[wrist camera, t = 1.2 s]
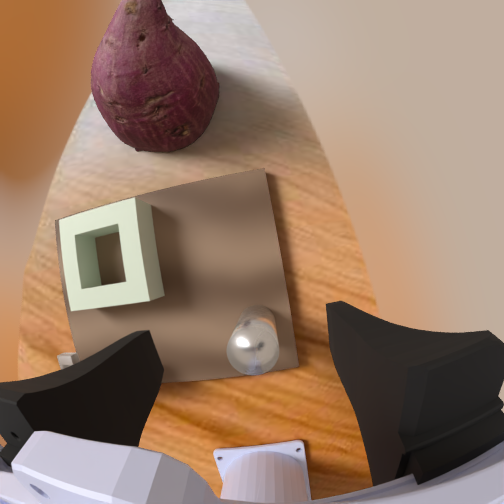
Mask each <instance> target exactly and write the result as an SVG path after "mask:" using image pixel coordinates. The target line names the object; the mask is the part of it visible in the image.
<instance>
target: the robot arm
mask: <svg viewBox="0 0 504 504" xmlns="http://www.w3.org/2000/svg"><path fill="white" fill-rule="evenodd" d="M326 311H327V322H328V333H329V345H330V351H331V354H332V358H333V361H334V365H335V368H336V370H337V372H338V375H339V377H340V379H341V381H342V384H343V386H344V388H345V390H346V393H347V395H348V397H349V399H350V402H351V404H352V406H353V409H354V411H355V414H356V417H357V420H358V424H359V427H360V431H361V435H362V438H363V442H364V446H365V450H366V454H367V459H368V463H369V467H370V472H371V477H372V482H373V487H370V488H366V489H363V490H359V491H355V492H351V493H346V494H342V495H337V496H333V497H327V498H322V499H316V500H311V494H310V486H309V478H308V471H307V463H306V456H305V449H304V443H303V441H302V440H294V441H288V442H281V443H274V444H267V445H258V446H248V447H237V448H222V449H216V450H214V453H213V454H214V458H215V461H216V464H217V467H218V470H219V472H220V475H221V478H222V481H223V487H222V492H221V496H220V498H218V497H217V496H216V495H215V494H214V492H213V491H212V489H211V488H210V486H209V485H208V483H207V482H206V481H205V480H204V479H203V478H202V477H201V476H200V475H199V474H197V473H196V472H195V471H194V470H193V469H192V468H191V467H190V466H189V465H187V464H185V463H183V462H181V461H179V460H177V459H174V458H172V457H170V456H168V455H166V454H164V453H161V452H157V451H152V450H148V449H144V448H140V447H138V446H139V442H140V438H141V434H142V431H143V428H144V426H145V423H146V421H147V418H148V416H149V414H150V411H151V409H152V407H153V404H154V402H155V399H156V397H157V394H158V392H159V389H160V386H161V382H162V378H163V373H164V367H163V365H162V362H161V360H160V357H159V355H158V352H157V349H156V347H155V344H154V341H153V339H152V336H151V333H150V330H142V331H136V332H133V333H131V334H129V335H127V336H125V337H123V338H121V339H119V340H118V341H116V342H114V343H112V344H111V345H109V346H107V347H106V348H104V349H102V350H101V351H99V352H97V353H95V354H93V355H91V356H90V357H88V358H86V359H84V360H82V361H80V362H78V363H76V364H74V365H71V366H69V367H66V368H64V369H61V370H59V371H56V372H53V373H49V374H46V375H43V376H39V377H35V378H31V379H26V380H20V381H12V382H2V383H0V434H1V436H2V437H3V438H4V440H5V441H6V442H7V444H6V446H5V447H2V446H1V445H0V504H504V413H503V412H502V411H501V409H502V408H503V406H504V403H503V401H502V400H501V399H500V398H499V397H498V395H499V392H500V389H501V386H502V384H503V381H504V343H503V342H502V341H501V340H500V339H498V338H497V337H496V336H495V335H494V334H492V333H491V332H490V331H488V330H487V331H476V332H465V333H445V332H432V331H425V330H418V329H412V328H408V327H404V326H401V325H397V324H393V323H390V322H388V321H385V320H382V319H380V318H377V317H375V316H372V315H370V314H368V313H366V312H364V311H362V310H360V309H358V308H356V307H354V306H352V305H350V304H347V303H345V302H343V301H338V302H333V303H328V304H326ZM297 448H301V449H300V450H296V449H297ZM219 457H222V458H219Z"/></svg>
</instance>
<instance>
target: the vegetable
mask: <svg viewBox="0 0 504 504" xmlns="http://www.w3.org/2000/svg"><path fill="white" fill-rule="evenodd" d="M172 20H174V19H172V18H170V16H169V15H168V14H167V13H166V10H165V7H164V5H163V3H162V1H161V0H122V1H121V3H120V4H119V6H118V8H117V10H116V12H115V14H114V16H113V18H112V21H111V22H110V24H109V27H108V29H107V31H106V33H105V35H104V37H103V39H102V41H101V43H100V45H99V47H98V49H97V52H96V54H95V57H94V60H93V64H92V70H91V89H92V94H93V96H94V100H95V102H96V105H97V107H98V109H99V111H100V112H101V115H102V116H103V118H104V119H105V121H106V122H107V124H108V126H109V127H110V128H111V130H112V131H113V132H114V133H115V135H116V136H117V137H118V138H119V139H120V140H121V141H122V142H124V143H125V144H127V145H130V146H131V147H134V148H135V150H136V151H141V150H144V151H149V152H171V151H175V150H178V149H181V148H184V147H186V146H188V145H190V144H191V143H193V142H194V141H196V140H197V139H198V138H199V137H200V136H201V134H202V133H203V132H204V131H205V129H206V128H207V126H208V124H209V122H210V120H211V118H212V115H213V112H214V110H215V106H216V104H217V100H218V98H219V83H218V82H217V79H216V75H215V72H214V69H213V67H212V65H211V64H210V62H209V60H208V59H207V57H206V55H205V54H204V53H203V51H202V50H201V49H200V47H199V46H198V45H197V44H196V43H195V42H194V41H193V40H192V39H191V38H190V37H189V36H188V35H186V34H185V33H184V32H183V31H182V30H180V29H179V28H178V27H177V26H176V25H174V23H173V22H172Z"/></svg>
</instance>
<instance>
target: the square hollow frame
mask: <svg viewBox="0 0 504 504" xmlns="http://www.w3.org/2000/svg"><path fill="white" fill-rule="evenodd" d="M59 227H60V240H61V250H62V259H63V267H64V274H65V281H66V287H67V293H68V299H69V304H70V309H71V311H77V310H85V309H93V308H101V307H109V306H117V305H124V304H131V303H139V302H146V301H151V300H154V299H157V298H160V297H162V296H165V294H164V289H163V283H162V278H161V272H160V266H159V260H158V254H157V247H156V240H155V233H154V226H153V218H152V210H151V205H150V204H148V203H146V202H144V201H142V200H139V199H137V198H135V197H134V198H131V199H127V200H123V201H120V202H116V203H112V204H109V205H105V206H102V207H99V208H95V209H92V210H89V211H85V212H82V213H79V214H76V215H73V216H70V217H66V218H63V219H60V220H59ZM116 232H119V234H120V242H121V250H122V257H123V264H124V270H125V276H126V282H122V283H116V284H110V285H104V286H102V284H101V278H100V272H99V265H98V258H97V251H96V242H95V238H96V237H100V236H104V235H108V234H112V233H116Z"/></svg>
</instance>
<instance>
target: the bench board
mask: <svg viewBox="0 0 504 504" xmlns="http://www.w3.org/2000/svg"><path fill="white" fill-rule="evenodd" d="M131 198H134V197H131ZM131 198H127V199H131ZM135 198H137V199H139V200H142V201H144V202H146V203H148V204H150V205H151V210H152V218H153V226H154V233H155V240H156V247H157V254H158V260H159V266H160V272H161V278H162V283H163V289H164V294H165V296H162V297H160V298H157V299H154V300H151V301H146V302H139V303H131V304H124V305H117V306H109V307H101V308H93V309H85V310H77V311H71V309H70V304H69V299H68V293H67V287H66V281H65V274H64V267H63V259H62V250H61V240H60V227H59V220H60V219H58V220H55V228H56V241H57V251H58V260H59V268H60V275H61V282H62V288H63V294H64V300H65V305H66V310H67V315H68V320H69V325H70V329H71V333H72V338H73V342H74V346H75V349H76V353H62V354H60V355H58V356H57V357H58V361H59V364H60V368H61V369H64V368H66V367H69V366H71V365H74V364H76V363H78V362H80V361H82V360H84V359H86V358H88V357H90V356H91V355H93V354H95V353H97V352H99V351H101V350H102V349H104V348H106V347H107V346H109V345H111V344H112V343H114V342H116V341H118V340H119V339H121V338H123V337H125V336H127V335H129V334H131V333H133V332H136V331H142V330H150V333H151V336H152V339H153V341H154V344H155V347H156V349H157V352H158V355H159V357H160V360H161V362H162V365H163V367H164V373H163V378H162V382H161V383H169V382H185V381H198V380H209V379H219V378H228V377H236V376H244V375H246V374H243V373H241V372H239V371H237V370H236V369H235V368H234V367H233V366H232V365H231V363H230V362H229V360H228V357H227V345H228V342H229V340H230V337H231V335H232V333H233V331H234V329H235V327H236V324H237V322H238V320H239V318H240V316H241V314H242V312H243V311H244V310H245V309H246V308H248V307H250V306H252V305H262V306H265V307H267V308H268V309H269V310H270V311H271V312H272V313H273V315H274V317H275V323H276V330H277V338H278V345H279V357H278V360H277V362H276V364H275V365H274V366H273V367H272V368H271V369H270V370H269V371H267V372H272V371H278V370H284V369H289V368H295V367H299V362H298V355H297V349H296V342H295V336H294V330H293V323H292V317H291V311H290V305H289V299H288V293H287V287H286V281H285V276H284V270H283V264H282V259H281V253H280V247H279V242H278V236H277V231H276V225H275V220H274V215H273V209H272V204H271V199H270V194H269V189H268V184H267V178H266V173H265V168H262V169H257V170H251V171H246V172H240V173H235V174H230V175H225V176H220V177H215V178H210V179H205V180H201V181H196V182H192V183H187V184H183V185H179V186H174V187H170V188H166V189H162V190H158V191H154V192H150V193H146V194H142V195H138V196H135ZM127 199H124V200H127ZM120 201H123V200H120ZM120 201H116V202H120ZM116 202H113V203H116ZM109 204H112V203H109ZM109 204H106V205H109ZM103 206H105V205H103ZM99 207H102V206H99ZM99 207H96V208H99ZM92 209H95V208H92ZM92 209H89V210H92ZM89 210H86V211H89ZM83 212H85V211H83ZM79 213H82V212H79ZM79 213H76V214H79ZM76 214H73V215H76ZM73 215H70V216H73ZM70 216H67V217H70ZM64 218H66V217H64ZM61 219H63V218H61ZM95 242H96V251H97V258H98V265H99V272H100V278H101V284H102V286H104V285H110V284H116V283H122V282H126V276H125V270H124V264H123V257H122V250H121V242H120V234H119V232H116V233H112V234H108V235H104V236H100V237H96V238H95Z"/></svg>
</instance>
